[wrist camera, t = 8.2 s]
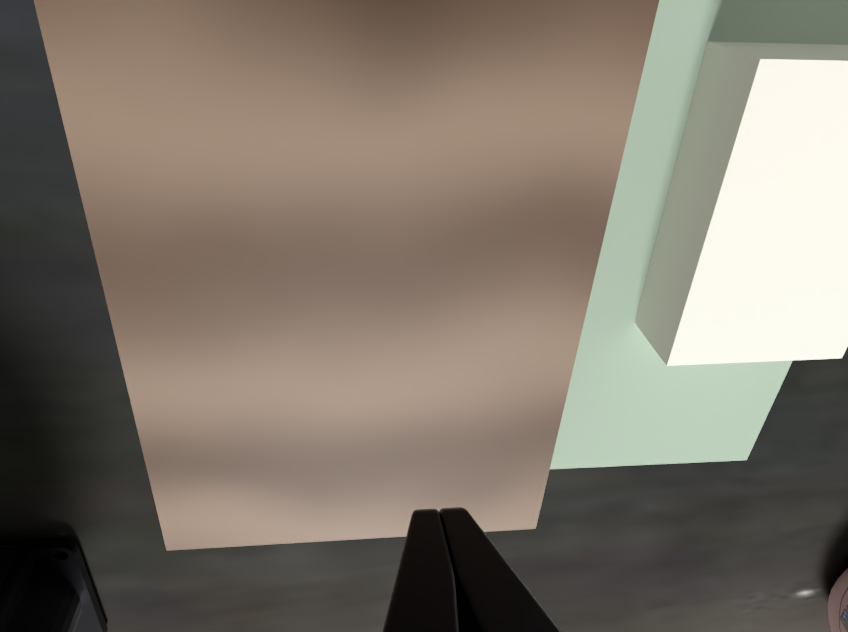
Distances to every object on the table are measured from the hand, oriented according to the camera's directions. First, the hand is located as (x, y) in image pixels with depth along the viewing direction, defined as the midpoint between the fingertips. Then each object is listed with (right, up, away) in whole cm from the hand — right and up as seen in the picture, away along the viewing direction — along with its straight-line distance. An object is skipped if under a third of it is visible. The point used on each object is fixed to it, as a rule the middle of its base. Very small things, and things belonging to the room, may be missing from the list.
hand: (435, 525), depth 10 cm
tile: (+11, +6, +8) cm, 14 cm away
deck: (-2, +7, +9) cm, 11 cm away
